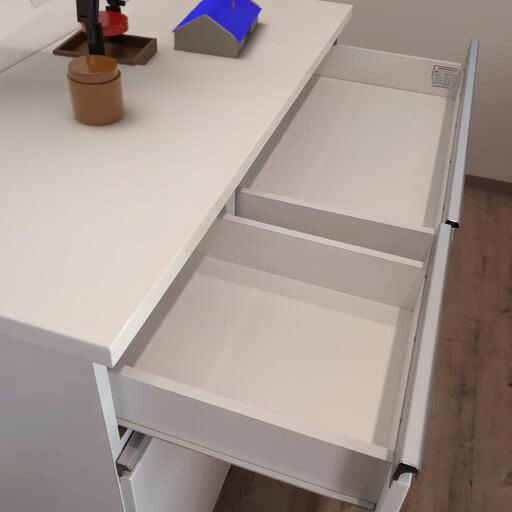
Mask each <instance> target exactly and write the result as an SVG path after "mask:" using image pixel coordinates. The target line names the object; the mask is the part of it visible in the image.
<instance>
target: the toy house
mask: <svg viewBox="0 0 512 512" xmlns="http://www.w3.org/2000/svg"><path fill="white" fill-rule="evenodd" d="M262 10H263V8H262V7H260V4H258V3H257V2H256V1H254V0H200V1H199V3H198V4H197V5H196V6H195V7H194V8H193V9H192V10H191V11H190V12H189V13H188V14H187V15H186V16H185V17H184V18H183V19H182V20H181V21H180V22H179V23H178V24H177V25H176V27H175V28H174V29H172V31H170V33H173V42H174V43H173V44H174V50H176V51H182V52H183V51H184V52H190V53H195V54H196V53H197V54H203V55H211V56H218V57H224V58H231V59H236V58H237V57H238V55H239V53H240V52H241V50H242V49H243V47H244V45H245V36H246V34H248V35H249V34H250V35H252V33H253V31H254V29H255V28H256V26H258V24H259V14H260V13H261V12H262Z"/></svg>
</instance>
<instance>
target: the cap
mask: <svg viewBox="0 0 512 512" xmlns="http://www.w3.org/2000/svg"><path fill="white" fill-rule="evenodd" d="M128 17H129V16H128V15H126V14H124V13H122V12H121V13H119V12H114V11H106V10H99V20H98V23H101V25H102V33H103V36H116V35H120V34H126V32H128V31H129V30H130V25H129V18H128ZM80 29H82V31H83V32H85V33H86V28H85V24H84V23H80Z"/></svg>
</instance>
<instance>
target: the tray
mask: <svg viewBox="0 0 512 512" xmlns="http://www.w3.org/2000/svg"><path fill="white" fill-rule="evenodd" d="M123 36H124V43H123V44H121V43H113V42H109V36H103V41H104V49H105V56H107V57H110V58H113V59H114V60H115V61H116V62H117V65H125V66H131V67H135V66H146V64H147V63H148V62H149V61H150V60H151V59H152V58H153V56H155V55H156V53H157V52H158V38H157V37H150V36H141V35H135V34H127V33H123ZM51 51H52V55H53V56H61V57H68V58H73V59H74V58H77V57H80V56H86V55H91V54H89V49H88V42H87V35H86V33H85V32H83V31H82V29H81V28H80V29H78V30H77V31H76V32H75V33H73V34H72V35H70V36H69V37H68V38H67V39H65V40H64V41H63V42H62V43H60V44H59V45H58V46H56V47H55V48H53V50H51Z"/></svg>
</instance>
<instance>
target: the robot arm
mask: <svg viewBox="0 0 512 512" xmlns="http://www.w3.org/2000/svg"><path fill="white" fill-rule="evenodd" d="M105 1H106V3H107V4H106V5H105V11H114V12H119V13H122V7H126V5H127V2H126V0H105ZM75 7H76V9H75V10H76V21H77V23H78V24H81V23H84V24H85V28H86V35H87V42H88V49H89V54H91V55H102V56H105V49H104V41H103V33H102V25H101V23H98V20H99V11H100V0H75ZM123 34H124V33H123ZM123 34H120V35H116V36H109V42H113V43H121V44H123V43H124V36H123Z"/></svg>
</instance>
